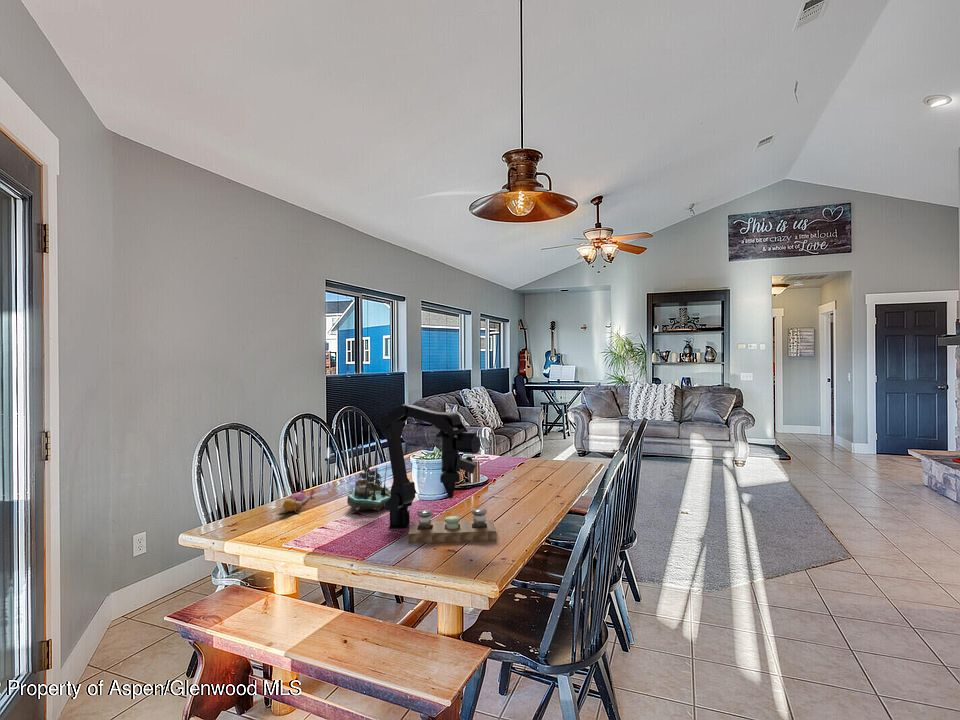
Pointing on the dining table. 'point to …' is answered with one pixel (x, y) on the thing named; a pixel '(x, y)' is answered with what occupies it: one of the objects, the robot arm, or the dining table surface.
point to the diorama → (369, 492)
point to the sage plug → (452, 522)
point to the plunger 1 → (424, 518)
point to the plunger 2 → (479, 516)
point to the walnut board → (452, 532)
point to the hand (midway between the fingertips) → (450, 498)
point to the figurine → (296, 501)
